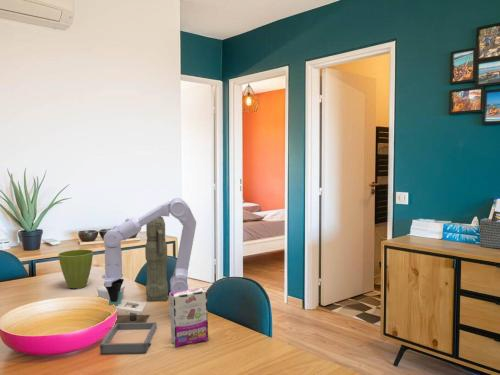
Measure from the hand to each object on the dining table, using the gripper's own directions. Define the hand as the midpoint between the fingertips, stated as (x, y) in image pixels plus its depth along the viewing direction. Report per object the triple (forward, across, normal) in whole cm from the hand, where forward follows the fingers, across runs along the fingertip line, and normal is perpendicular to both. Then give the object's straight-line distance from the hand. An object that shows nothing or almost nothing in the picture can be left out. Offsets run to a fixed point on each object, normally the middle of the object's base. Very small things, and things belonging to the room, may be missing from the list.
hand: (114, 300), depth 153 cm
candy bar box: (+8, +17, +28) cm, 34 cm away
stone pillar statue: (+8, -25, +10) cm, 28 cm away
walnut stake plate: (+8, +1, +4) cm, 9 cm away
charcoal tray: (+8, +16, +10) cm, 21 cm away
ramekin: (+8, -28, -10) cm, 31 cm away
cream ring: (+2, 0, +4) cm, 5 cm away
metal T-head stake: (+7, 0, +6) cm, 10 cm away
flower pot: (+8, -46, -30) cm, 56 cm away
